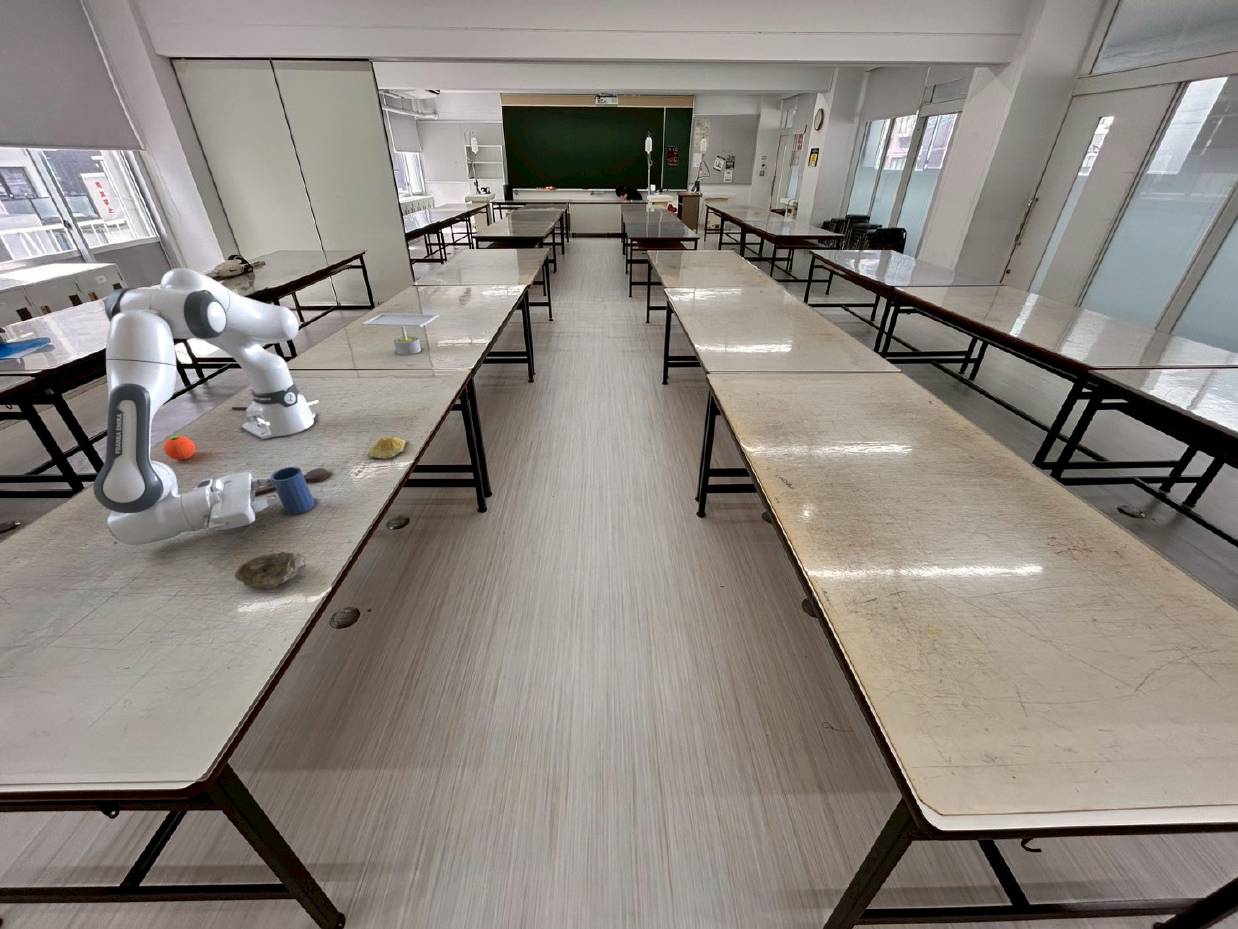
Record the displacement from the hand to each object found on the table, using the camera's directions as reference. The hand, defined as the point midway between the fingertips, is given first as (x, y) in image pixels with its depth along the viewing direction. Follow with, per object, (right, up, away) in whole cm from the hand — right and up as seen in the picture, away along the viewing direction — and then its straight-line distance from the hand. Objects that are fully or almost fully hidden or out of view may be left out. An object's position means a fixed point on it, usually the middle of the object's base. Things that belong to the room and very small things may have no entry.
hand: (275, 489), depth 121 cm
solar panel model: (-13, +58, +107) cm, 122 cm away
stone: (+12, -18, -17) cm, 27 cm away
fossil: (+15, +10, +29) cm, 34 cm away
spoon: (-6, 0, +14) cm, 15 cm away
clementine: (-46, +8, +27) cm, 53 cm away
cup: (+3, -5, +5) cm, 7 cm away
